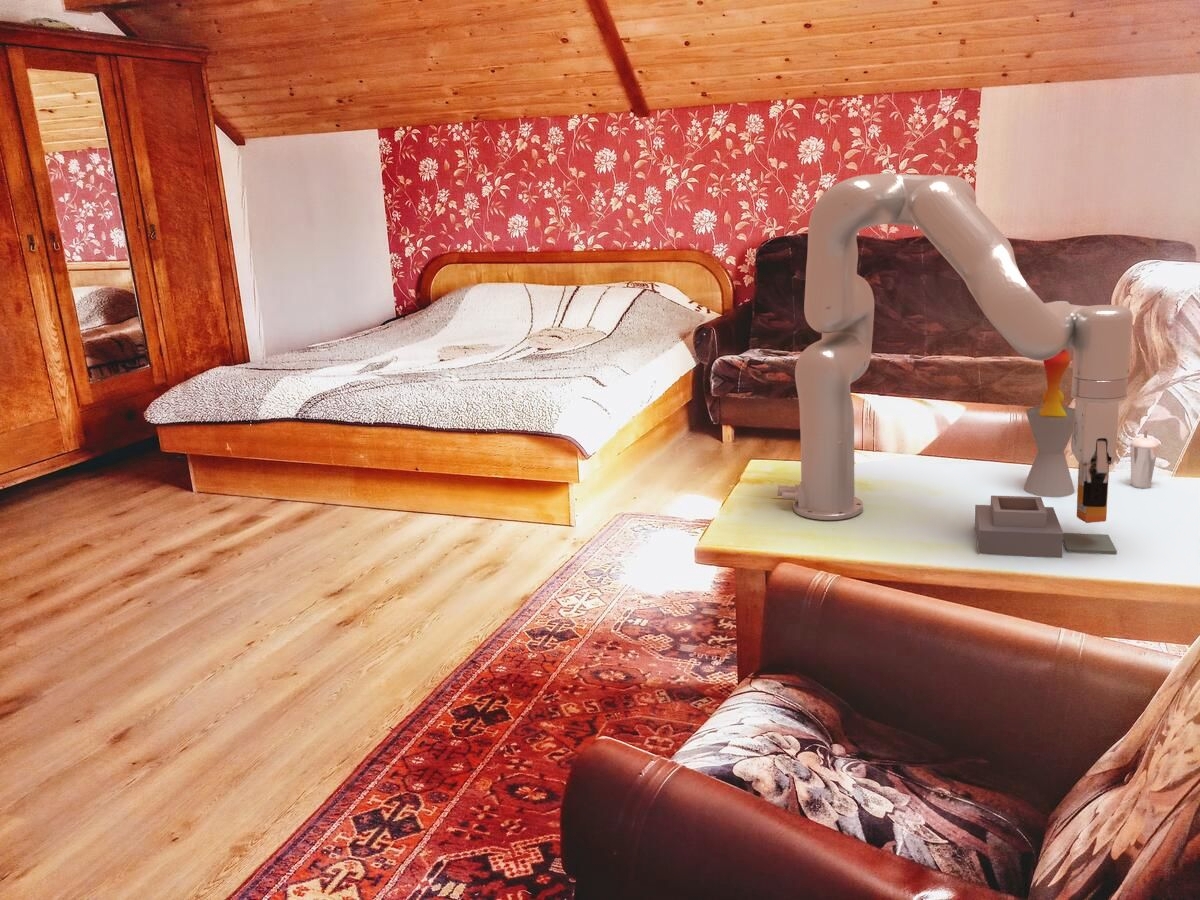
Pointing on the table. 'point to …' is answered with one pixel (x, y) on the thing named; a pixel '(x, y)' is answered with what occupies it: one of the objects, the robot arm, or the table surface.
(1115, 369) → the robot arm
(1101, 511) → the supplement box
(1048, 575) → the table surface
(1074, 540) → the rest mat
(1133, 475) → the milkshake
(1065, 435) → the lava lamp
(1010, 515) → the frame
